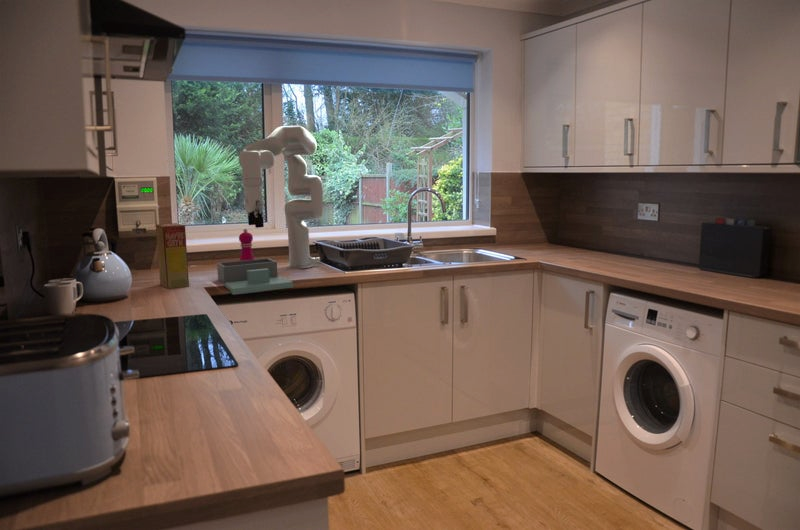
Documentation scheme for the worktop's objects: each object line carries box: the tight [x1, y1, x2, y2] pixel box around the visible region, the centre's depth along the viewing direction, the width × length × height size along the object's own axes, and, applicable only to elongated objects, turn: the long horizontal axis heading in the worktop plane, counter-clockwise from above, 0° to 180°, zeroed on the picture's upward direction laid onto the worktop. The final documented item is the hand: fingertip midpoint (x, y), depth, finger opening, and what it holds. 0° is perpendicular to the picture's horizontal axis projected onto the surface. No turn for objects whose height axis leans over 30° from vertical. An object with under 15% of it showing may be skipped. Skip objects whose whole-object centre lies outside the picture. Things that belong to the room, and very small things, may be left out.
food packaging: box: [155, 222, 190, 290], centre depth 261 cm, size 13×9×25 cm
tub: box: [216, 257, 279, 285], centre depth 268 cm, size 22×12×8 cm, turn 118°
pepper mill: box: [238, 228, 255, 261], centre depth 285 cm, size 7×7×20 cm
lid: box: [224, 268, 294, 296], centre depth 253 cm, size 24×14×7 cm, turn 118°
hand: (256, 226), depth 256 cm, fingers open, 9 cm apart
